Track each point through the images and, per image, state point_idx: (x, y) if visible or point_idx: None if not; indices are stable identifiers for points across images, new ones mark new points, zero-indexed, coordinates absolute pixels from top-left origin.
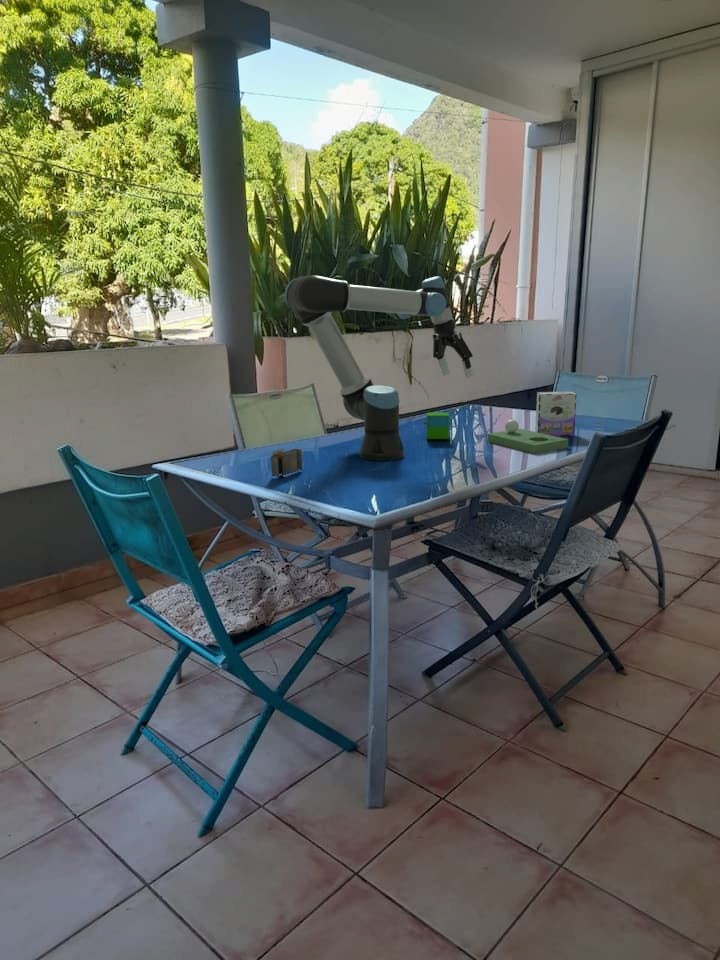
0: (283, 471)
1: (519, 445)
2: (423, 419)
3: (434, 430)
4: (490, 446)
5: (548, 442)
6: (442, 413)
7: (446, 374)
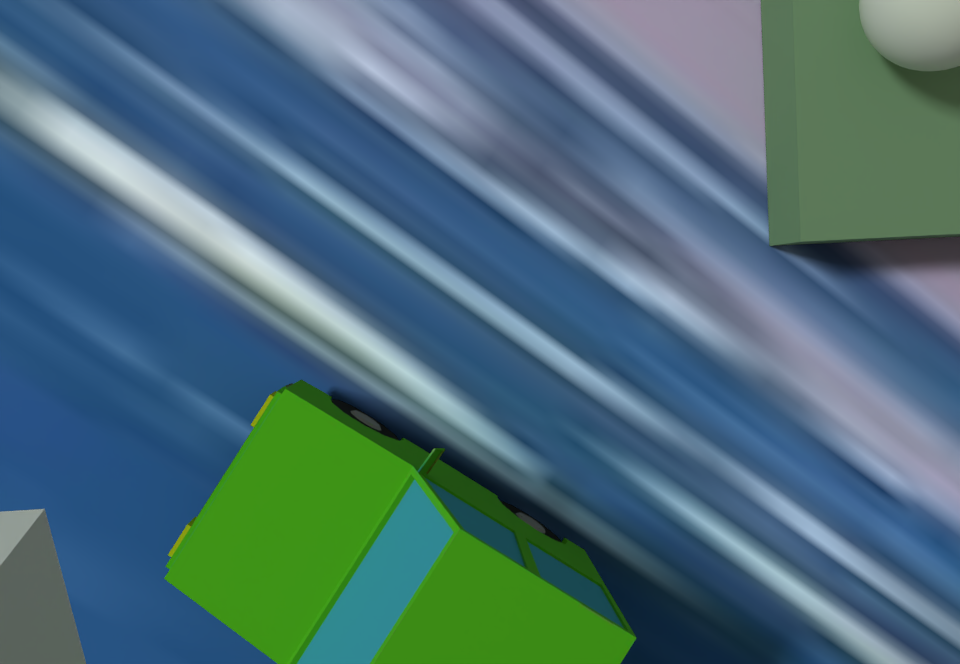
0: None
1: None
2: None
3: None
4: (932, 342)
5: None
6: (466, 627)
7: (66, 621)
